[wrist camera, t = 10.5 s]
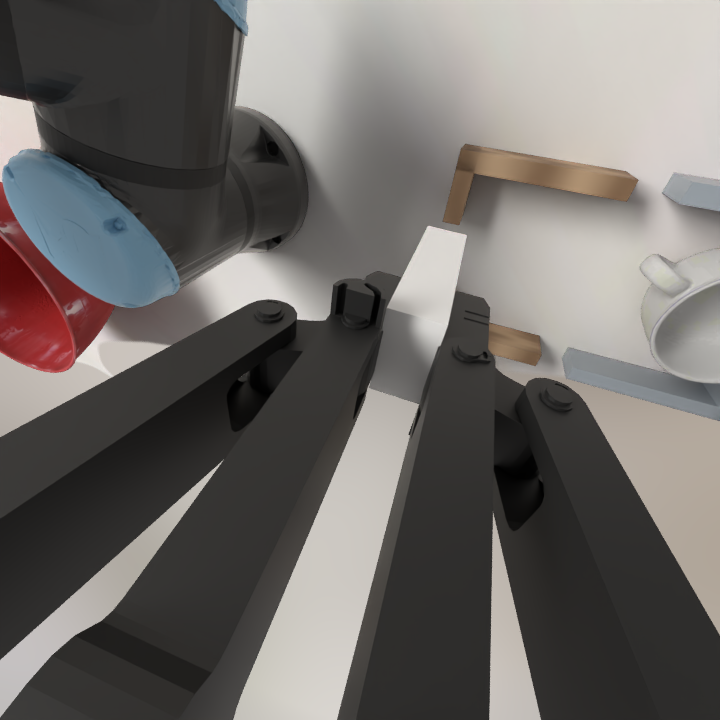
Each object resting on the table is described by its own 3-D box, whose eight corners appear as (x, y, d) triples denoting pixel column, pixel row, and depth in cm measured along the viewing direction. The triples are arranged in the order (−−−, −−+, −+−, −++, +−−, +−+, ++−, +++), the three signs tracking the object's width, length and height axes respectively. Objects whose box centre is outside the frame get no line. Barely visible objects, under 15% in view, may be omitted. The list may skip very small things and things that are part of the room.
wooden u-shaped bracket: (421, 316, 45) (414, 332, 42) (465, 143, 33) (460, 149, 30) (533, 346, 43) (535, 366, 40) (626, 171, 31) (638, 180, 28)
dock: (561, 357, 42) (566, 378, 39) (674, 172, 30) (692, 181, 27) (707, 397, 40) (724, 422, 37) (901, 210, 27) (950, 225, 24)
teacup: (802, 297, 32) (871, 345, 26) (664, 356, 39) (692, 405, 33) (720, 180, 29) (776, 203, 23) (587, 265, 36) (603, 301, 30)
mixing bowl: (179, 336, 63) (105, 392, 52) (63, 311, 71) (-25, 355, 59) (113, 156, 46) (-20, 178, 35) (-32, 148, 54) (-182, 163, 42)
